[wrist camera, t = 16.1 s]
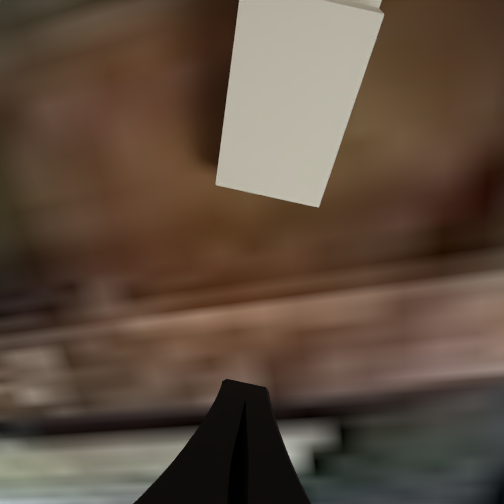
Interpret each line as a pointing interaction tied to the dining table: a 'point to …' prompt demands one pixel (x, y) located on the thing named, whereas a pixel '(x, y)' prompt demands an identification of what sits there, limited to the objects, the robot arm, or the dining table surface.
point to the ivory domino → (292, 93)
